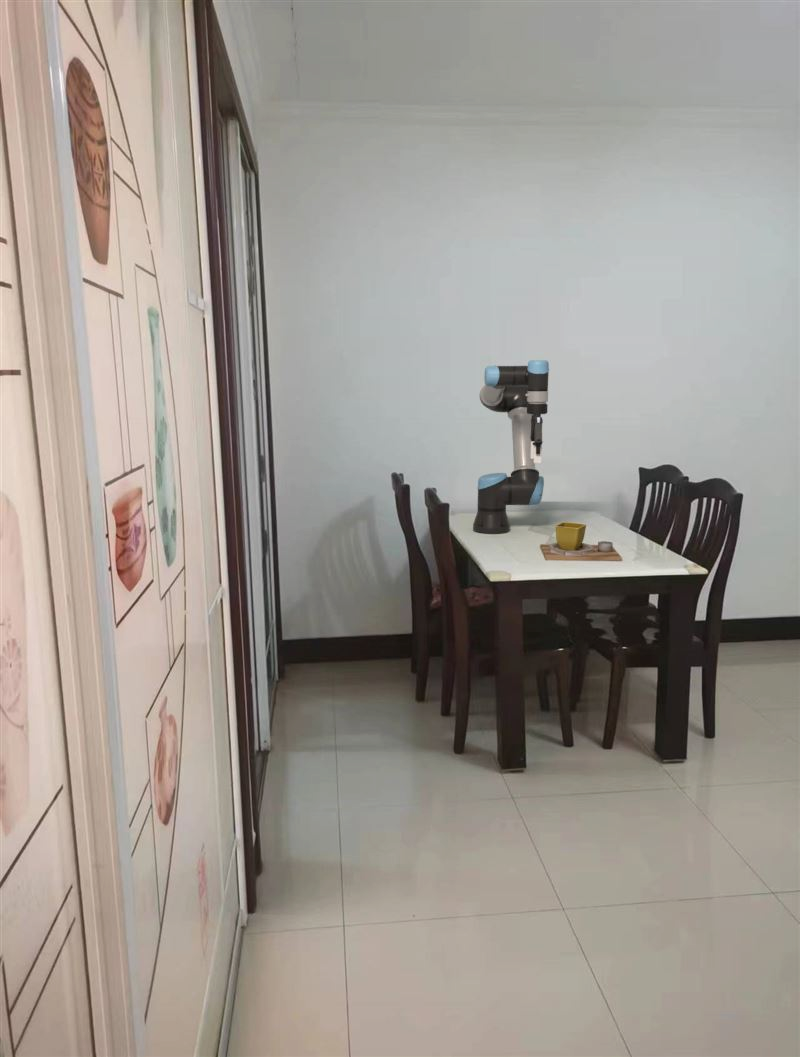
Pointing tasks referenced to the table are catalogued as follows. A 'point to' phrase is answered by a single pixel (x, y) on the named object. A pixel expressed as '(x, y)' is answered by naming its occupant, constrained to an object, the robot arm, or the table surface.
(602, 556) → the carrier board
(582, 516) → the table surface
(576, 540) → the flower pot
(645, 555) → the table surface
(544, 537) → the table surface
